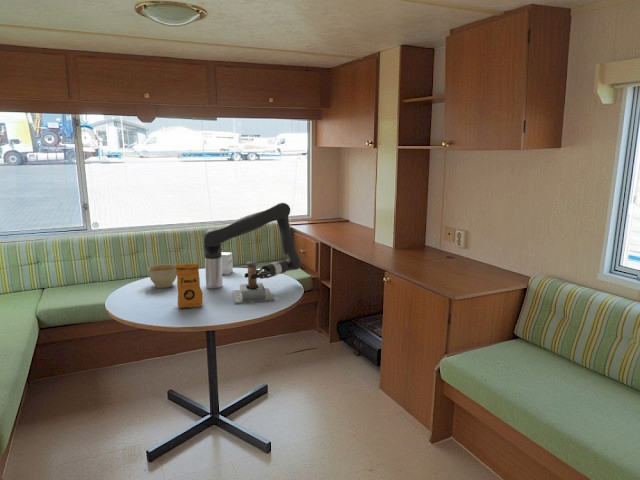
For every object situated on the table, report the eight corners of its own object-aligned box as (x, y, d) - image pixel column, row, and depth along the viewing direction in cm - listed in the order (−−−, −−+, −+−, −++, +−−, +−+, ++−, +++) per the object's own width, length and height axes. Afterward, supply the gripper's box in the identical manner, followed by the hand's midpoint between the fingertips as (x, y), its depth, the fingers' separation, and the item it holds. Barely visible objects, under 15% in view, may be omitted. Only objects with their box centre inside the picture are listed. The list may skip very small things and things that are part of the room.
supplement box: (228, 274, 286) (228, 255, 284) (217, 273, 288) (216, 254, 285) (233, 271, 293) (232, 252, 291) (222, 270, 295) (221, 251, 292)
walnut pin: (248, 293, 240) (247, 264, 237) (246, 290, 246) (245, 261, 242) (258, 292, 242) (257, 263, 238) (257, 289, 247) (256, 260, 244)
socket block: (235, 304, 232) (234, 294, 231) (232, 292, 251) (231, 282, 250) (274, 301, 237) (273, 291, 236) (268, 289, 256) (268, 280, 255)
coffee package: (202, 308, 225) (200, 265, 221) (176, 310, 223) (173, 266, 219) (204, 302, 235) (202, 260, 231) (179, 303, 233) (176, 261, 229)
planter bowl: (177, 289, 257) (176, 270, 254) (147, 291, 253) (146, 272, 251) (179, 281, 272) (178, 263, 270) (150, 282, 268) (149, 264, 266)
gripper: (262, 261, 256) (239, 267, 243) (280, 265, 247) (257, 272, 234) (262, 274, 258) (239, 281, 245) (280, 278, 249) (257, 286, 236)
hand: (248, 276), depth 240 cm, fingers closed on walnut pin, 4 cm apart
